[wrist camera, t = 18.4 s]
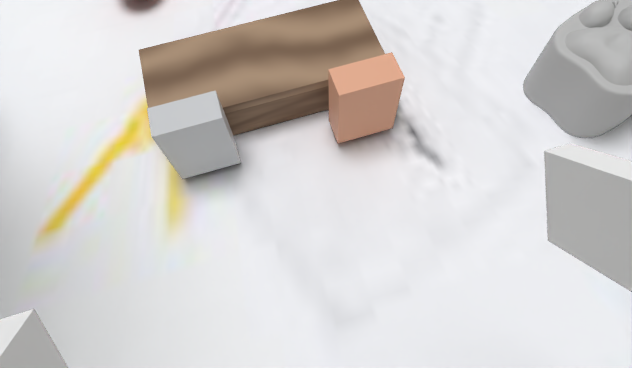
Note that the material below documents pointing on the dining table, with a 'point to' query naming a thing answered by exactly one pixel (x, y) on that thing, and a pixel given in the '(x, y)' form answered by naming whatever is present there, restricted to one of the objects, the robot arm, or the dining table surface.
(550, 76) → the lumpy-topped squat cylinder
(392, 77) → the peach rectangular block
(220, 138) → the grey plunger
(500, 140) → the dining table surface
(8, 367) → the robot arm
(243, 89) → the plunger housing
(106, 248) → the dining table surface
